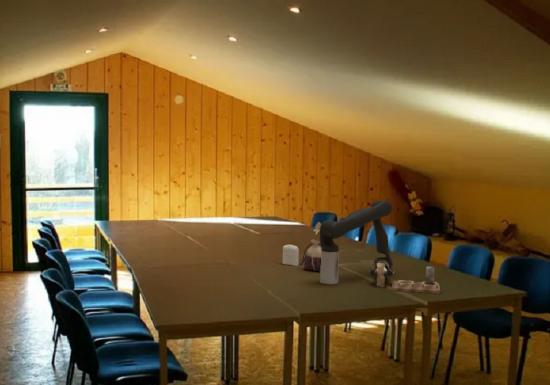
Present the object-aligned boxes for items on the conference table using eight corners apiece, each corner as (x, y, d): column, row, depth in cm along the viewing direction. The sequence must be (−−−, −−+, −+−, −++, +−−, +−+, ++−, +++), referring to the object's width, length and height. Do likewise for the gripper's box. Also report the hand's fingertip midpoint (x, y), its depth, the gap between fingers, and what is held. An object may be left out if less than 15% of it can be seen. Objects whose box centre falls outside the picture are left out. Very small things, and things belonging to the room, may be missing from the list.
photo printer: (299, 265, 380) (299, 245, 379) (296, 266, 376) (296, 246, 375) (284, 263, 385) (285, 243, 384) (281, 264, 381) (281, 244, 380)
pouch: (294, 269, 367) (294, 237, 365) (302, 267, 373) (302, 236, 372) (329, 275, 351) (330, 241, 350) (337, 272, 358) (338, 240, 356)
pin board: (391, 290, 314) (392, 268, 313) (392, 283, 331) (393, 262, 330) (440, 293, 309) (441, 271, 308) (438, 286, 326) (439, 264, 325)
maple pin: (376, 286, 322) (376, 264, 321) (376, 285, 326) (377, 262, 325) (384, 287, 321) (384, 264, 320) (384, 285, 325) (385, 263, 324)
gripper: (369, 261, 338) (366, 267, 322) (395, 262, 335) (394, 268, 319) (368, 274, 339) (366, 281, 322) (395, 276, 336) (394, 282, 319)
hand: (380, 274), depth 321 cm, fingers closed on maple pin, 4 cm apart
